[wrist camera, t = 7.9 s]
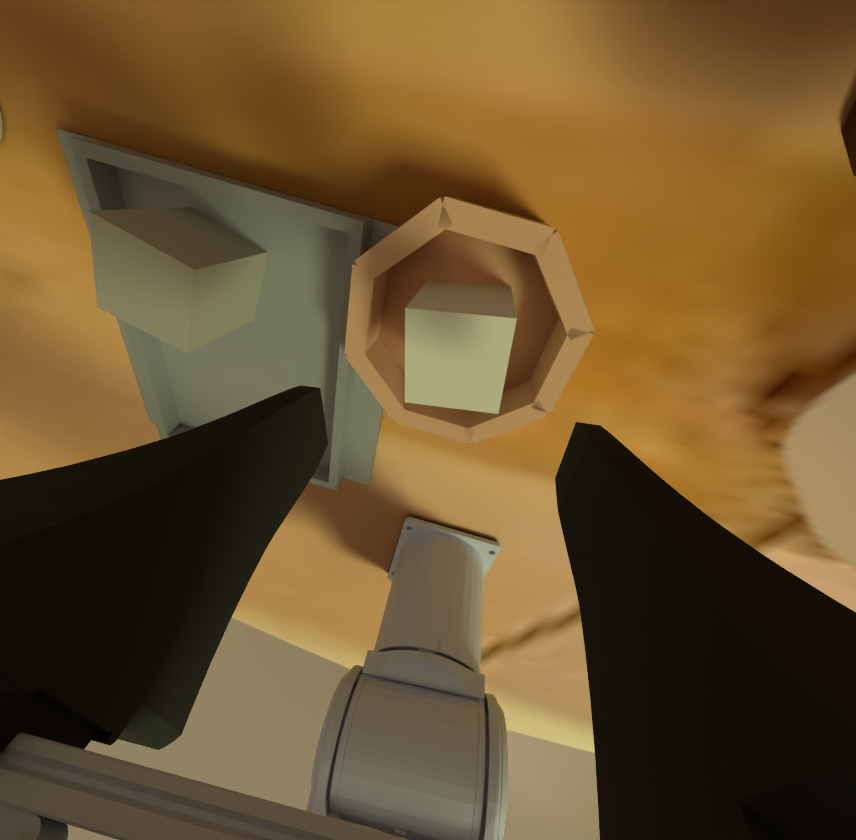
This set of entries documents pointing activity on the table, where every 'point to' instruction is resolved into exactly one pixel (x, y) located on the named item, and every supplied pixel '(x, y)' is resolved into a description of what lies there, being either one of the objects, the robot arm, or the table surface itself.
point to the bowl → (477, 264)
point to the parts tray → (276, 308)
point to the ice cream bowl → (851, 136)
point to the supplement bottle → (1, 126)
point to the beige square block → (175, 273)
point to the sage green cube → (458, 345)
